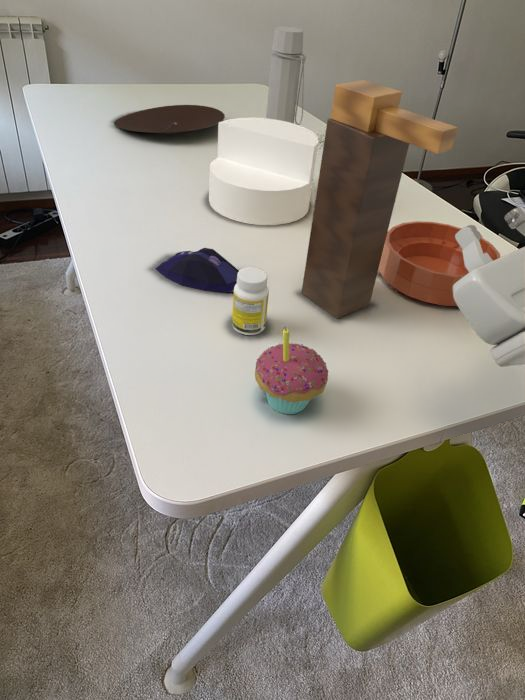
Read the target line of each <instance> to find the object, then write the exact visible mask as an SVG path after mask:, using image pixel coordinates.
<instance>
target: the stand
mask: <svg viewBox="0 0 525 700" xmlns="http://www.w3.org/2000/svg"><path fill="white" fill-rule="evenodd" d="M326 121H327V122H326V128H325V134H324V141H323V147H322V155H321V160H320V168H319V174H318V181H317V188H316V195H315V199H314V205H313V207H314V208H313V214H312V219H311V227H310V234H309V238H308V239H309V241H308V248H307V254H306V260H305V266H304V271H303V273H304V274H303V278H302V279H303V280H302V286H301V294H302V295H303V296H304V297H305V298H307V299H308V300H310V301H311V302H312V303H314V304H315V305H317V306H318V307H320V308H321V309H323V310H324V311H325V312H326V313H328V314H329V315H331V316H332V317H334V318H335V319H336V320H337V319H341V318H343V317H345V316H347V315H349V314H352V313H354V312H356V311H358V310H361V309H363V308H367V307H368V306H370V305H371V300H372V296H373V293H374V288H375V284H376V280H377V276H378V272H379V264H380V260H381V256H382V252H383V248H384V244H385V240H386V236H387V232H388V231H389V228H390V224H391V219H392V215H393V213H394V207H395V204H396V200H397V196H398V192H399V189H400V188H399V187H400V183H401V179H402V175H403V172H404V167H405V163H406V159H407V155H408V150H409V148H410V144H409V143H406V142H403V141H401V140H398V139H395V138H392V137H390V136H387V135H384V134H381V133H379V132H376V131H371V132H365V131H363V130H360V129H357V128H354V127H352V126H349V125H346V124H344V123H341V122H338V121H336V120H333V119H331V117H330V118H327V120H326Z"/></svg>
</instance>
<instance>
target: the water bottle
mask: <svg viewBox="0 0 525 700" xmlns="http://www.w3.org/2000/svg"><path fill="white" fill-rule="evenodd" d="M272 40H273V41H272V46H271V53H272V54H271V56H270V57H271V58H270V69H269V79H268V80H269V81H268V94H267V105H266V115H265V118H267V119H275V120H281V121H286V122H290V123H293V124H297V125H300V126H301V124H302V121H303V116H304V90H305V89H304V88H305V87H304V86H305V84H304V83H305V82H304V81H305V62H306V59H307V56H306V55H305V54H303V52H304V51H303V49H304V29H302V28H299V27H291V26H275V29H274V33H273V39H272ZM301 64H302V65H301ZM301 85H302V89H301ZM301 91H302V92H301ZM300 93H302V94H301V117H300V121H299V123H298V122H297V114H298V107H299V101H300Z"/></svg>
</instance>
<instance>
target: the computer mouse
mask: <svg viewBox="0 0 525 700" xmlns="http://www.w3.org/2000/svg"><path fill="white" fill-rule="evenodd" d="M155 270H156V271H157V272H159V274H161V275H162V276H163V277H164V278H166V279H168V280H170V281H171V282H174V283H176V284H178V285H179V286H181V287H182V286H183V287H187V288H191V289H196V290H200V291H205V292H214V293H223V294H229V293H231V292H234V287H235V285H236V284H237V274H238V272H239V270H240V269H238V268H237V267H236V266H234V265H233V264H232V263H231V262H229V260H227V259H226V258H225V257H224V256H222V255H221V253H219V252H218V251H216V250H215V249H214V248H208V247H203V248H200V249H198V250H196V251H191V250H186V251H179V252H177V253H175V254H174V255H172V256H170V257H168V258H167V259H165V260H164V261H162V262H161V263H160V264H159V265H158V266H157V267H155Z"/></svg>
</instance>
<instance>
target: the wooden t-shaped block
mask: <svg viewBox="0 0 525 700" xmlns="http://www.w3.org/2000/svg"><path fill="white" fill-rule="evenodd" d="M334 86H335V88H334V94H333V99H332V106H331V107H332V108H331V113H330V118H331V119H333V120H336V121H338V122H341V123H344V124H346V125H349V126H352V127H354V128H357V129H360V130H363V131H365V132H371V131H376V132H379V133H381V134H384V135H387V136H390V137H392V138H395V139H398V140H401V141H403V142H406V143H409V145H412V146H414V147H417V148H420V149H422V150H424V151H425V150H426V151H428V152H431V153H434V154H436V155H439V154H442V153H445V152H448V151H451V150H452V149H453V146H454V144H455V140H456V136H457V133H458V129H459V127H458V126H455V125H452V124H449V123H446V122H443V121H440V120H436V119H433V118H430V117H428V116H424V115H421V114H418V113H416V112H412V111H410V110H406V109H403V108H400V104H401V98H402V94H403V91H401V90H397V89H395V88H391V87H388V86H385V85H382V84H378V83H375V82H372V81H369V80H365V79H361V80H356V81H349V82H344V83H337V84H335V85H334Z"/></svg>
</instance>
